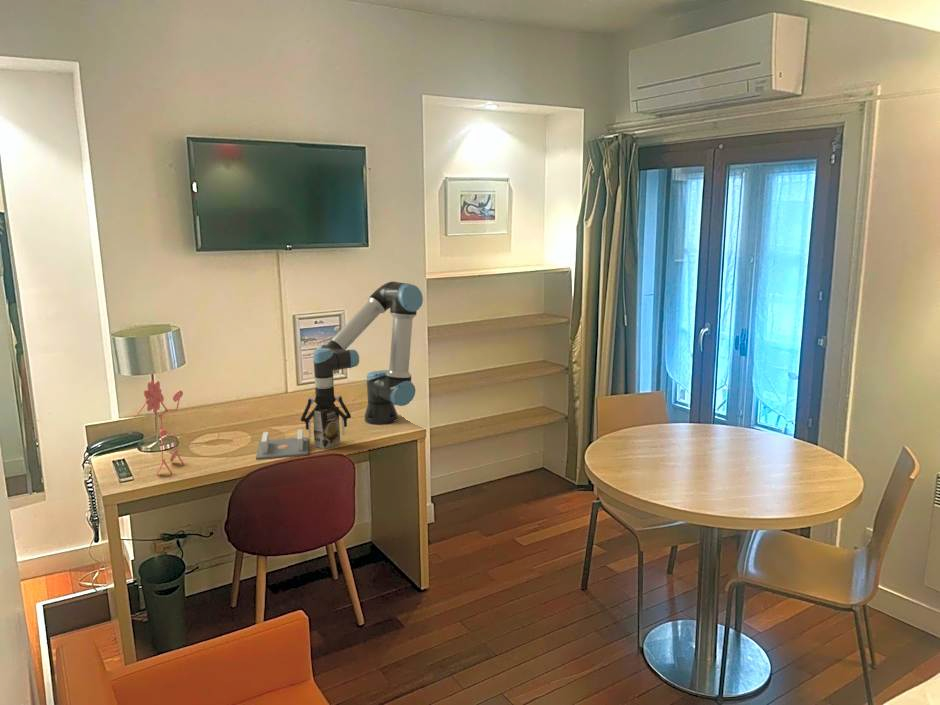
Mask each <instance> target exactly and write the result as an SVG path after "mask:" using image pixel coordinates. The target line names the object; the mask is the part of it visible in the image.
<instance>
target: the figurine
mask: <svg viewBox="0 0 940 705" xmlns="http://www.w3.org/2000/svg"><path fill="white" fill-rule="evenodd" d="M143 395H144V398H145V402H144V403H143V404H142V406H141V407H140V408H139V410H138V411H137V412H136V414H135V415H134V418H136V417H137V416H138V415H139V414H140V413H141V412H142V410H143V409H144V408H145V406H147V408H146V410H147V411H148V412H151V411H153V414H156V415H157V417H158V418H159V419H160V430H159V432H158V434H159V435H160V440H161V462H160V464H159V466H158V469H157V470H156V472H155V473H156V474H157V475H158V474H159V473H160V470H161V469H162V467H163V465H165V466H166V468H167V470H168V471H169V473H170V474H171V473H172V474H173V471H172V470H171V469H170V467H169V466H168V464H167V463H166V461H165V459H166V458H165V457H164V446H163V445H164V444H163V442H164V441H163V437H165V436H167V434H169V435H173V440H174V441H173V443H174V451H173V453H172V455H171V456H170V458H169V461H170V462H171V463H173V461H174V460H175V459H176V458H178V459H179V461H180V462H181V464H182V465H185V463H184V461H183V460H182V457H181V456H180V455H179V449H176V433H172V432H168V431H167V430H166V429H165V428H163V418H162V417H163V416H164V415H165V414H166V413H168V412H175V411H178V410H179V409H178V408H179V405H180V400H181V398H182V397H183V395H184V392H183V390H179V391H177V392H176V393H175V394H174V395H173V396H172V400H173V401H174V403H176V402H177V403H176V408H175V409H173V408H172V409H168V408H167V407H166V406H165V404H164V400H165V398H164V395H163V393H162V388H161V382H160V381H159V380H158V381H155V380H153V379H152V380H150V382H147V390H144V391H143ZM161 405H162V406H163V408H164V410H163V412H161V414H159V412H158V411H159V410H160V409H161Z"/></svg>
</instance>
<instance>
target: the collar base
mask: <svg viewBox="0 0 940 705" xmlns="http://www.w3.org/2000/svg"><path fill="white" fill-rule="evenodd" d="M303 430H304V429H300V428H299V429H297V433H296V434H297V435H296V437H292V438H290V437H289V438H288V437H287V438H280V439H279V438H278V439H270V438H269V436H270V435H269V432H268V431H263V433H262V436H261V440H259V444H258V446H257V453H256V456H255V460H266V459H278V458H289V457H299V456H300V457H301V456H308V455H309V436H304V431H303Z"/></svg>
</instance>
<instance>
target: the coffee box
mask: <svg viewBox="0 0 940 705" xmlns="http://www.w3.org/2000/svg"><path fill="white" fill-rule="evenodd" d="M337 408H338V409H340V408H339V406H337ZM312 410H313V409H312ZM313 411H314V415H313V417H312V418H313V419H312V420H313V440H314V441H313V442H314V447H316V448H318V449H321V450H326V449H330V448H332V447H335V446H337V445H340V444H341V430H340V428H341V427H340V415H339V414H338V413H337V412H336V411H335V410H334V409H333V408H332V407H331V408H329V409H327V408H325V409H321V408H319V410H313Z"/></svg>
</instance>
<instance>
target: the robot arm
mask: <svg viewBox="0 0 940 705" xmlns="http://www.w3.org/2000/svg"><path fill="white" fill-rule="evenodd" d="M423 300H424V298H423V293H422V291H421V289H420V288H419V287H418V286H417V285H415V284H411V283H405V282H398V281H389V282H386V283H384V284H382V285H381V286H379V288H377V289H376V290H375V291H374V292H372V294H370V296H369V297H368V298H367V302H366V303H365V304H364V305H363V306H362V308H361V309H360V310H358V312H356V313H355V314H354V316H353V317H351V319H350V320H349V321H348V322H347V323H346V324H344V326H343V327H342V328H341V329H340V330H339V331H338V332H337V333H336V334H335V335H334V336H333V337H332V339H330V341H328V343H327V344H321V345H319V346H318V347H317V349H315V350H314V351H313V361H312V362H313V370H314V386H315V389H314V390H315V392H314V393H315V397H314V398H311V397H308V400H307V403H306V404H307V405H306V406H305V408H304V411H303V414H302V415H301V417H300V421H301V422H304V424H305V430H306V431H307V430H308V435H309V436H308V439H309V438H310V439H311V438H312V427H311V419H312V418H313V415H314V411H313V410H319V408H321V409H325V408H327V409H329V408H331V407H332V408H333V409H334V410H335V411H336V412H337V413H338V414H339V417H340V418H341V426H342V427H341V428H342V431H341V432H342V436H345V428H346V427H348V424H347V422H348V419H351V417H352V416H351V413H350V411H349V410H348V408H347V406H346V405H345V403H344V400H343V396H342V395H339V396H337V397H335V387H334V384H335V383H334V371H340V370H345V369H352V368H354V367H357V366H358V365H359V364H360V355H359V353H358V351H357V350H356V349H353V348H352V349H348V348H350V346H351V345H352V344H353V343H354V342H355V340H357V338H359V336H361V334H362V333H363V332H364V331H365V330H366V329H367V328H368V327H369V326H370V325H371V324H373V322H374V321H375V320H376V319H377V318H378V317H379V315H380V314H385V312H386V311H387V310H389V313H390V315H391V316H392V328H391V330H392V331H391V342H390V356H389V357H390V358H389V366H388V368H389V369H387V370H386V369H383V370H374V371H371V372H368V373H367V374H366V390H367V392H366V393H367V405H366V410H365V413H364V422H365V423H368V424H371V425H385V424H384V423H387V424H390V423H389V422H391V423H393V422H392V421H394V420H396V419H397V420H398V411H397V409H396V407H395V406H397V407H398V406H399V407H404V406H407V405H409V404H410V402H411V401H413V400H414V398H415V395H416V386H415V385H414V383H413V382H412V374H411V373H410V372H409V368H410V357H411V356H410V355H411V343H412V332H413V330H412V329H413V319H414V318H415V317H416V316H417V311H419V310H420V308H421V307H422V305H423ZM336 401H337V403H339V404H340V406H341V408H342V409H343V411H344V412H343V411H342V410H341V409H340V408H339V409H338V408H337V407H338V406H337V405H336V404H335V402H336ZM314 403H315V407H313V409H312V410H311V412H310V413H309V414H308V412H309V410H310V408H311V405H313V404H314ZM307 414H308V416H307ZM306 416H307V417H306ZM397 420H396V421H397ZM394 422H395V421H394Z"/></svg>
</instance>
